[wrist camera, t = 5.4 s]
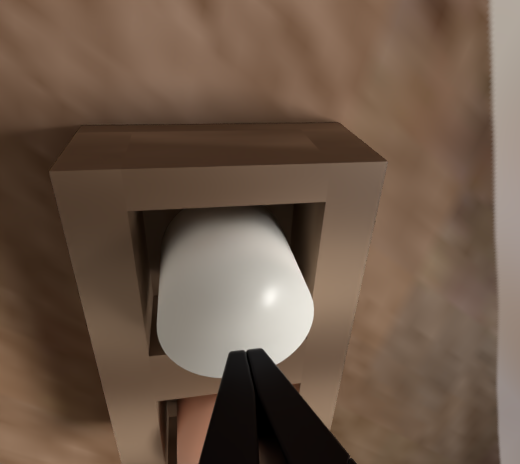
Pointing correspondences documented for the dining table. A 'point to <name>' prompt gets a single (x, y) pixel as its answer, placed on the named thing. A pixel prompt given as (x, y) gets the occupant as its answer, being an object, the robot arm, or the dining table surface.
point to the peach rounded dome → (193, 426)
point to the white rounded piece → (229, 288)
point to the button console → (202, 196)
